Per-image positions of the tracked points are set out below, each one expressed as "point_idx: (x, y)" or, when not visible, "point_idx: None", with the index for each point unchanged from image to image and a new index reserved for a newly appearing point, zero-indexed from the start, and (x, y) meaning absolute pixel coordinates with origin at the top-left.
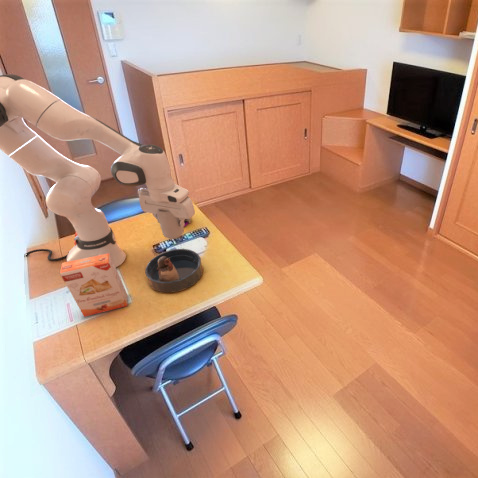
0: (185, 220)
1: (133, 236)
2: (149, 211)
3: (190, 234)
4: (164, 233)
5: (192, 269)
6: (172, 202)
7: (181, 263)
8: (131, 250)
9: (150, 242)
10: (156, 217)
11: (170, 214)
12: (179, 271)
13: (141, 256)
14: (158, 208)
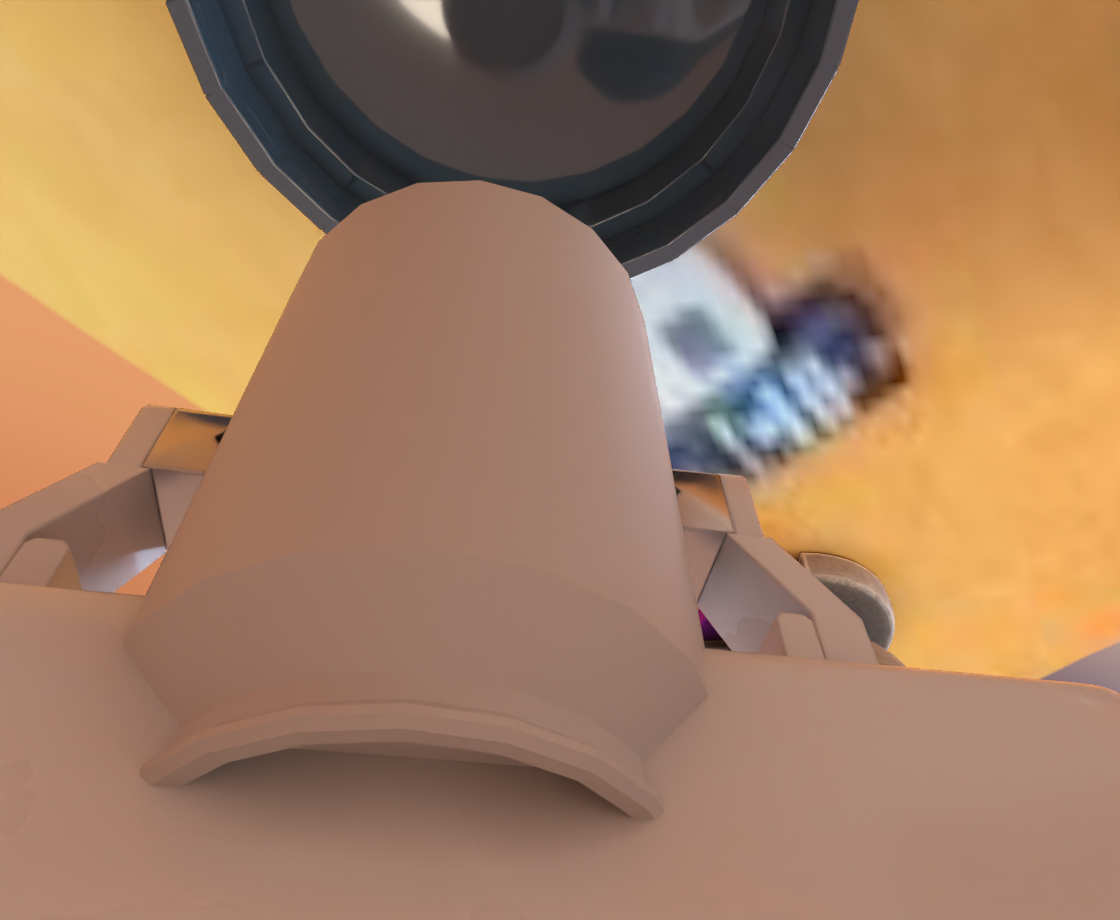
0: (712, 648)
1: (1105, 464)
2: (953, 707)
3: None
4: (542, 237)
5: (377, 68)
6: None
7: (540, 153)
8: (1102, 297)
9: (942, 412)
10: (768, 570)
11: (167, 661)
12: (505, 14)
13: (990, 225)
14: (626, 850)
